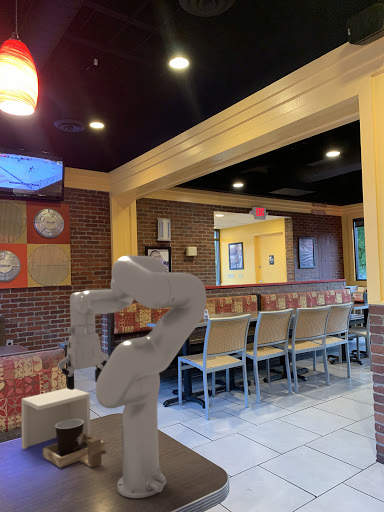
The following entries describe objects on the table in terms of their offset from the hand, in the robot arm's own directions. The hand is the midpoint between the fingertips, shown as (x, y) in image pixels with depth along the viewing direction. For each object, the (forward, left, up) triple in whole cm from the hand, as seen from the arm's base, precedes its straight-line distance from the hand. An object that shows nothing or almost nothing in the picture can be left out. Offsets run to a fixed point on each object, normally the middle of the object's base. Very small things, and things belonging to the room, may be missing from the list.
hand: (85, 385), depth 117 cm
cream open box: (+19, +1, -22) cm, 30 cm away
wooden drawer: (+3, +1, -22) cm, 22 cm away
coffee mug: (+7, +1, -23) cm, 24 cm away
